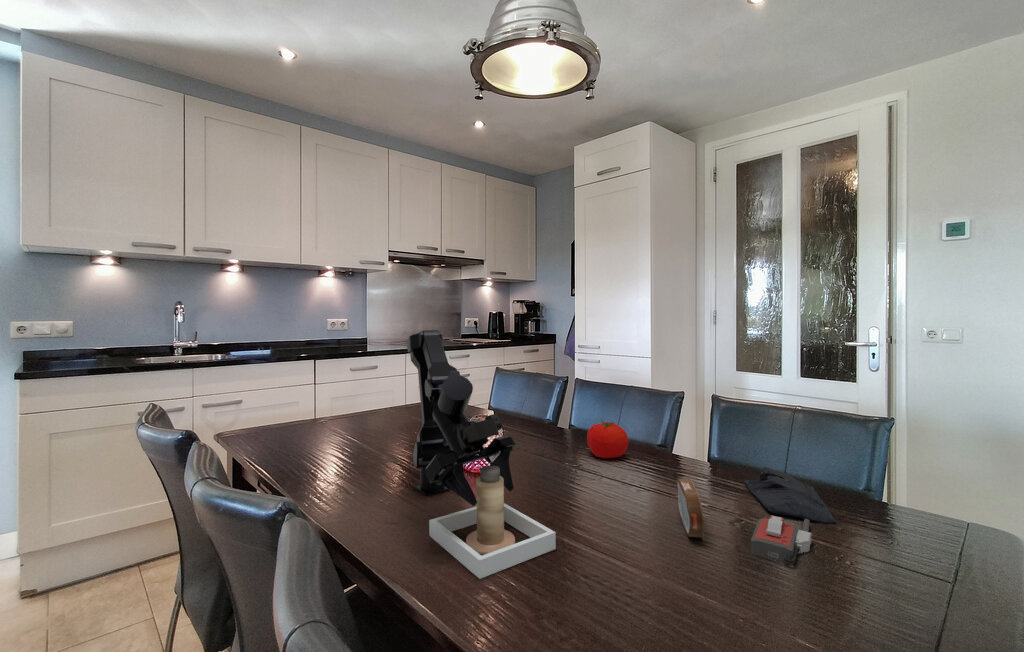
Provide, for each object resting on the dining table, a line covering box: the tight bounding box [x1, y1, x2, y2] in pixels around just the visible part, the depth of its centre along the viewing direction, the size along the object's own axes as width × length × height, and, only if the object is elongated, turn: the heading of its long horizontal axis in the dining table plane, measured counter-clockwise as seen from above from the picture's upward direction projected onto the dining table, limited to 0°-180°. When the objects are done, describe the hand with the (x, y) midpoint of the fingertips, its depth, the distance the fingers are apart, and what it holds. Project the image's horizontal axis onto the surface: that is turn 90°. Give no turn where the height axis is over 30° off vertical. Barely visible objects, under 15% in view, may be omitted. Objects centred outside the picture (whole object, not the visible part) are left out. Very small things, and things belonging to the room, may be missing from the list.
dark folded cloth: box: [743, 466, 838, 525], centre depth 104 cm, size 15×22×5 cm
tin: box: [676, 477, 705, 539], centre depth 92 cm, size 15×3×8 cm, turn 168°
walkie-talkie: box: [749, 514, 812, 565], centre depth 86 cm, size 9×4×20 cm
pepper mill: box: [476, 465, 505, 545], centre depth 86 cm, size 5×5×13 cm
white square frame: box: [428, 502, 557, 580], centre depth 86 cm, size 18×16×3 cm
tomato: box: [586, 419, 630, 459], centre depth 137 cm, size 11×13×10 cm
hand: (494, 497), depth 85 cm, fingers open, 9 cm apart
